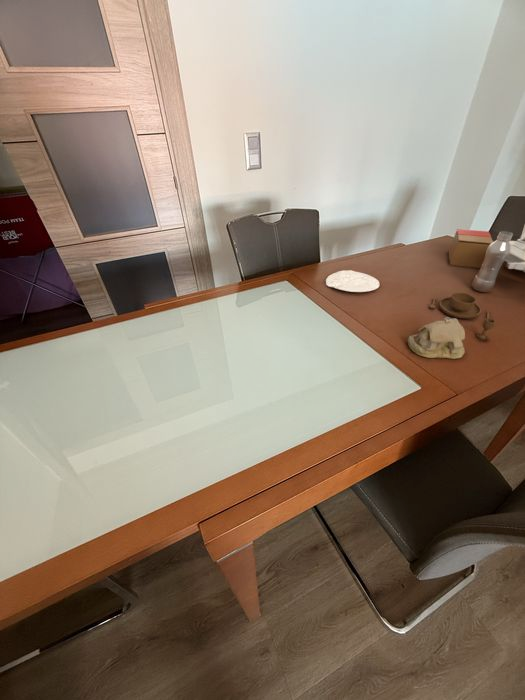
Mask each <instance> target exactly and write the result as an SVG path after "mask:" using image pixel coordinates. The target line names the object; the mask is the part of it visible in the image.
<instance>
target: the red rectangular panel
mask: <svg viewBox="0 0 525 700" xmlns="http://www.w3.org/2000/svg"><path fill="white" fill-rule="evenodd" d="M456 231H457V233H458V235H471V236H483V237H491V238H492V235H491V233H490V231H489V230H488V231H487V230H473V229H472V230H471V229H461V228H460V229H459V228H457V229H456Z"/></svg>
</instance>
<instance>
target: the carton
mask: <svg viewBox="0 0 525 700" xmlns="http://www.w3.org/2000/svg"><path fill="white" fill-rule="evenodd" d="M493 242H494V240H493V238H492V236H491V237H483V236H471V235H458V233H457V230H456V231H455V233H454V236H453V239H452V242H451V244H450V247H449V250H448V260H449V265H451V266H458V267H466V268H467V267H468V268H477V269H481V267H482V264H483V261H484V259H485V255H486V251H487V248H488V247H489V245H490V244H492V243H493Z"/></svg>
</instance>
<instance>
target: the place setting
mask: <svg viewBox="0 0 525 700" xmlns="http://www.w3.org/2000/svg"><path fill="white" fill-rule="evenodd" d="M476 302H477V298H476V297H475V296H473V295H471V294H470V293H466V292H453V293H452V294H451V296H448V297H444V298H441V300H440V301H439V304H438V305H439V309H440V311H441V312H443V313H444V314H446V315H448V317H452V318H456V319H461V320H463V319H464V320H470V319H475V318H477V317H478V316H480V315H481V313H482V308H481V306H480V305H479V304H477V303H476ZM435 303H436V298H435V297H434V298H433V299H432V303H431V304H429V308H430V309H436V308H437V306H436V304H435ZM486 312H487V313H486V314H487V315H486V318H484V321H483V324H482V328H483V330H482V331H481V333H477V334H476V338H477V339H478V340H480V341H486V340H488V339H489V338H488V336H487V332H488V331H489V330H490V331H491V330H492V329H493V327H494V326H495V324H496V320H495V319H494V318H491V317H490V311H489V310H487V311H486Z"/></svg>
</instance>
